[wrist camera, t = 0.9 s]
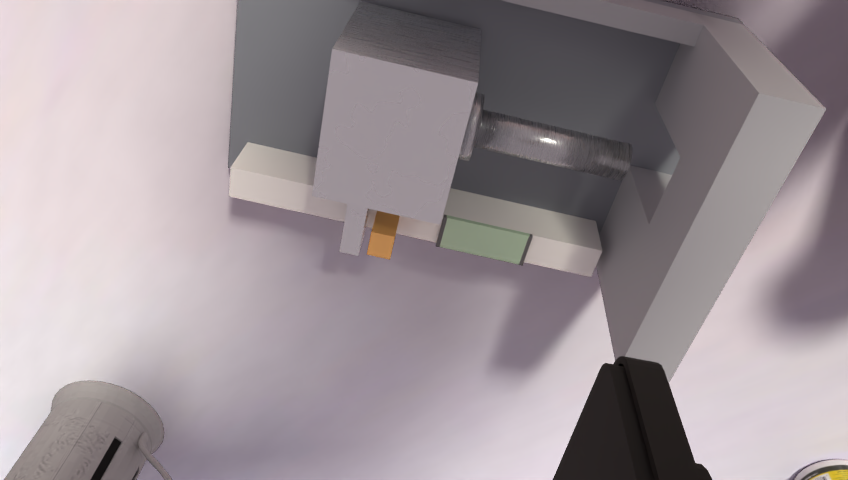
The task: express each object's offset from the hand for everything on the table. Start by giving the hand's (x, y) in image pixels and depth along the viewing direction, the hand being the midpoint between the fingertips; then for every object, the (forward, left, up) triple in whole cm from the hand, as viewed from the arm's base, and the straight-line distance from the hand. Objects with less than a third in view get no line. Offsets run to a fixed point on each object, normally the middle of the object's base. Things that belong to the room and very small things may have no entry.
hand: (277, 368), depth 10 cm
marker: (+13, +1, -24) cm, 27 cm away
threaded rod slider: (+8, +4, -27) cm, 28 cm away
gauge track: (+7, +3, -28) cm, 29 cm away
